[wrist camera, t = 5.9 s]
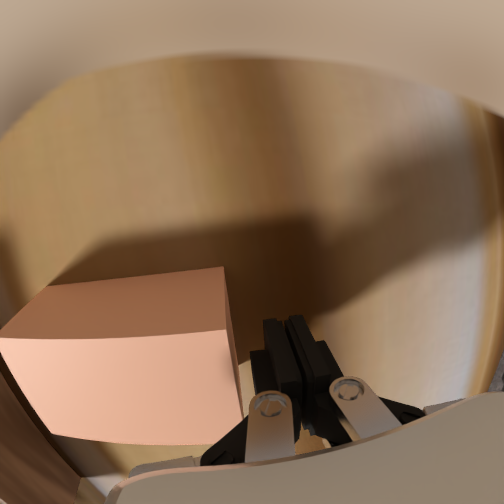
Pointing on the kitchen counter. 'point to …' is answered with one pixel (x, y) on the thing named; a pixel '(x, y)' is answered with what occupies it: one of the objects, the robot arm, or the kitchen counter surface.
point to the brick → (130, 358)
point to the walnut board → (30, 459)
